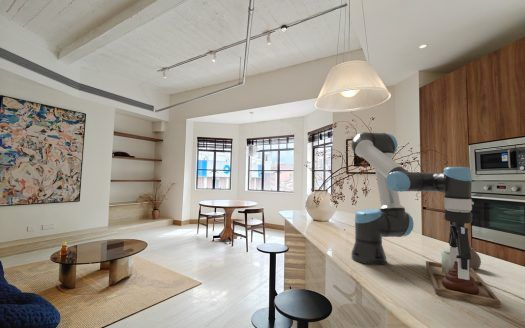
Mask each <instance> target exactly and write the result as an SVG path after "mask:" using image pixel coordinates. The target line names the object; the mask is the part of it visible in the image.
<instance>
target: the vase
mask: <svg viewBox="0 0 525 328" xmlns="http://www.w3.org/2000/svg"><path fill="white" fill-rule="evenodd" d="M469 247H470V254H471V259H469V268H472V269H473V270H474V271H475V270H478V269H479V268H480V267H481V265H482V259H481V257H480V255H479V254H478V253H477V251H476V250H475V248H473V247H471V246H469ZM464 255H465V254H464Z"/></svg>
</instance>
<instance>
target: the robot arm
mask: <svg viewBox="0 0 525 328" xmlns="http://www.w3.org/2000/svg"><path fill="white" fill-rule="evenodd" d="M350 145H351V146H350V147H351V150H352V152H353V153H354V154H355V155H356V156H358V157H359V158H362V159H364V160H365V161H366V162H367V163H368V164H369V165H371V166H372V167H373V168H374V172H375V176H376V177H375V178H376V182H377V190H378V195H379V201H380V207H379V208H378V209H376V208H372V209H371V208H369V209H368V208H365V209H360V210H358V211H356V213H355V216H354V217H355V218H354V223H355V225H354V227H355V228H354V229H355V232H354V233H355V234H354V235H355V239H354V240H355V241H354V244H353V247H352V251H351V259H352V260H354V261H355V262H358V263H361V264H366V265H375V266H376V265H377V266H381V265H385V264H386V263H387V255H386V253H385V249H384V245H383V238H391V237H392V238H394V237H396V238H402V237H407V236H409V235H410V234H411V232H412V231H413V230H414V220H413V216H411V214H410V213H408V212H407V211H406V209H405V207H404V206H403V205H402V204H401V200H400V196H399V193H401V192H425V193H426V192H432V193H433V192H434V193H443V195H444V197H443V198H444V199H443V200H444V202H443V206H444V207H443V208H444V209H445V210H444V220H445V221H447V222H449V234H448V244H449V250H450V265H454V263H455V261H457V262H458V278H460V279H466V280H469V259H471V254H470V247H471V246H470V240H469V229H468V227H465V224H472V223H473V213H472V212H471V211H472V210H473V206H472V205H475V204H474V203H475V202H474V201H473V200H472V199H473V198H472V188H473V186H472V185H473V184H472V183H473V178H472V171H471V169H470V167H468V166H446V167H444V169H443V172H425V171H424V172H419V171H417V172H416V171H415V172H413V171H409V170H407V169H405V168H404V167H403V166H402V165H400V164H399V163H397V162H395V160H394V159H393V158H394V157H395V153H397V150H398V149H397V148H398V141H397V138H396V137H395V136H394V135H393V134H391V133H386V132H368V131H367V132H366V131H365V132H361V133H357V134H356V135H355V136H354V137H353V138H352V140H351V144H350ZM464 254H465V255H464Z"/></svg>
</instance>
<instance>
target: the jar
mask: <svg viewBox="0 0 525 328" xmlns="http://www.w3.org/2000/svg"><path fill="white" fill-rule="evenodd" d="M440 254H441V257H440V258H441V261H440V263H442V273H443V274H445V275H446V274H447V273H448V271H449V269H450V268H453V265H450V249H448V248H447V249H443V251H441V252H440Z"/></svg>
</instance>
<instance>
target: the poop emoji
mask: <svg viewBox="0 0 525 328" xmlns="http://www.w3.org/2000/svg"><path fill="white" fill-rule="evenodd" d="M442 284H443V286H444V287H446V288H447V289H450V290H453V291H461V292H463V293H466V294H471V295H476V294H478V293H479V287H478V286H477V285H476V284H475V279H474V278H473V277H472V276H470V273H469V280H466V279H460V278H458V262H457V261H455V263H454V265H453V268H450V269H449V271H448V273H447V274H446V276H445V277H444V278H443V279H442Z"/></svg>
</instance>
